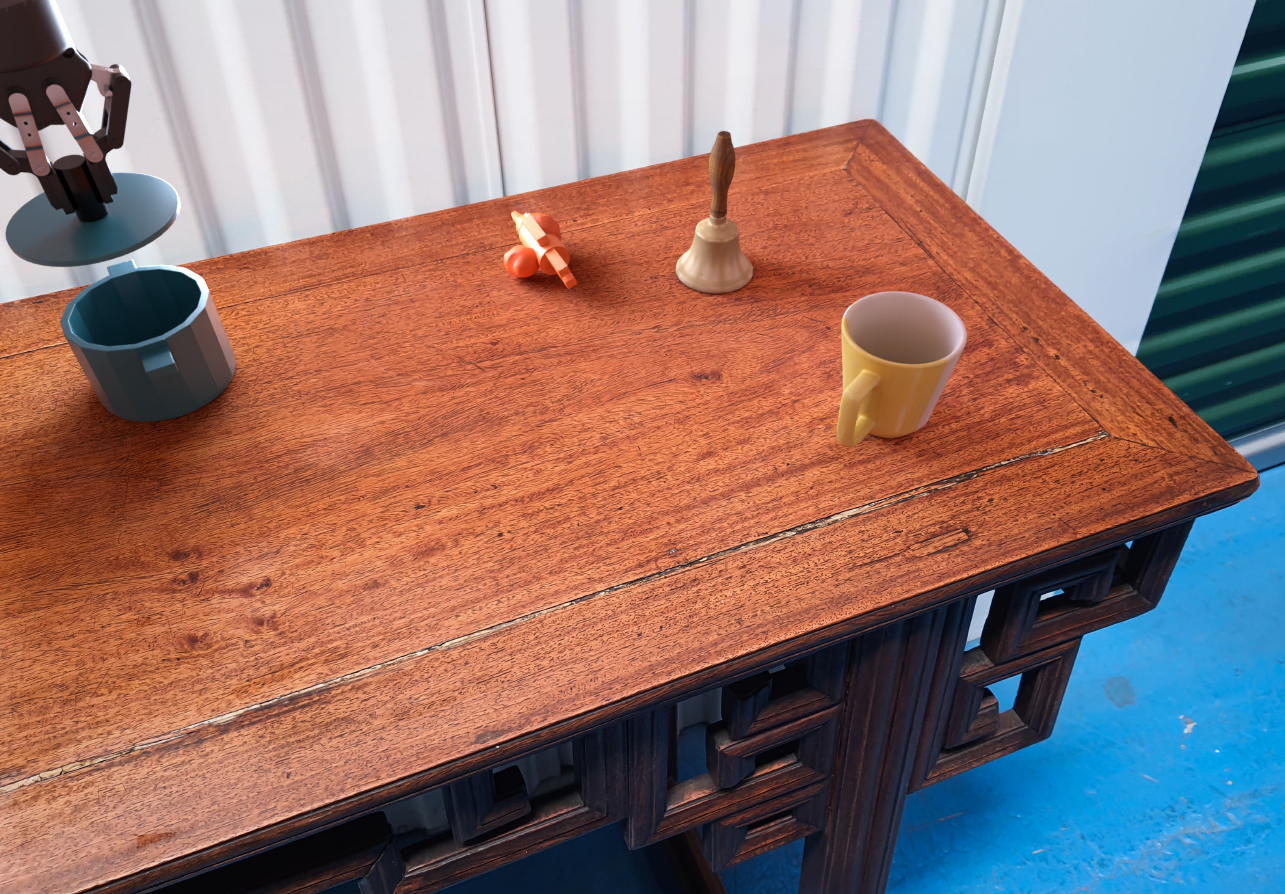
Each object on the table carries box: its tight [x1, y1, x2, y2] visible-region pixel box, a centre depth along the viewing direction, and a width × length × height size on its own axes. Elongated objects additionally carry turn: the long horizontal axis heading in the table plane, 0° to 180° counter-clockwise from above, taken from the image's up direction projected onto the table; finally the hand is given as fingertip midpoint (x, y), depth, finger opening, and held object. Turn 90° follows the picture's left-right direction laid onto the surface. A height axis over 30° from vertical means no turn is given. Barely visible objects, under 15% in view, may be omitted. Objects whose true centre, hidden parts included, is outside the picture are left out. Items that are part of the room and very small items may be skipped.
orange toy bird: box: [503, 210, 578, 290], centre depth 105 cm, size 5×8×12 cm
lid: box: [5, 154, 181, 268], centre depth 81 cm, size 13×13×6 cm
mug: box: [835, 290, 968, 448], centre depth 86 cm, size 14×10×10 cm
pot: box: [59, 259, 237, 423], centre depth 92 cm, size 12×18×8 cm
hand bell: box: [675, 130, 754, 294], centre depth 100 cm, size 8×8×16 cm
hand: (87, 203), depth 81 cm, fingers closed on lid, 2 cm apart
